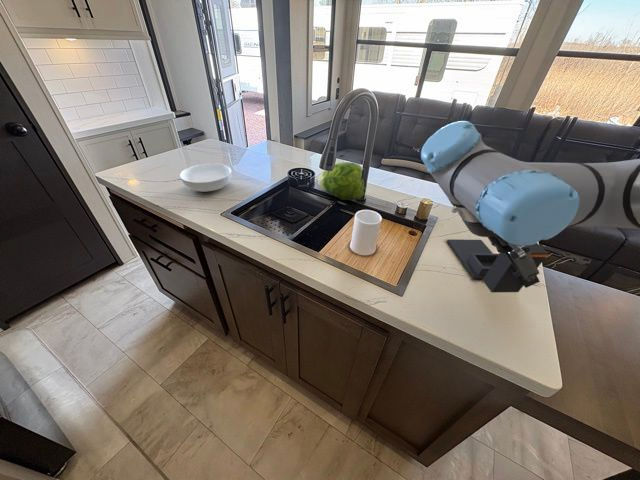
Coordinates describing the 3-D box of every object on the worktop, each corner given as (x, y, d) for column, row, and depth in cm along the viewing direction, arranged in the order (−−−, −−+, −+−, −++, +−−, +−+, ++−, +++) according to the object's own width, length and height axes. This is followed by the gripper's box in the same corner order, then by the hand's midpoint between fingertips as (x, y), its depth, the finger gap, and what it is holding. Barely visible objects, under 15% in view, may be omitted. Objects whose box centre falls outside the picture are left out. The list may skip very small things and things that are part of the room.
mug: (354, 231, 91) (359, 202, 83) (378, 237, 89) (385, 207, 81) (347, 252, 82) (351, 221, 74) (373, 258, 80) (380, 227, 72)
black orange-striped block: (518, 292, 54) (549, 253, 47) (491, 292, 54) (518, 253, 47) (508, 280, 57) (535, 241, 50) (482, 280, 56) (506, 241, 50)
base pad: (512, 280, 75) (519, 270, 72) (473, 279, 74) (478, 270, 72) (479, 241, 89) (484, 232, 86) (446, 241, 88) (450, 232, 86)
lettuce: (332, 188, 123) (323, 159, 114) (374, 185, 112) (367, 152, 103) (318, 207, 113) (307, 177, 104) (363, 206, 102) (354, 172, 93)
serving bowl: (237, 176, 122) (235, 163, 118) (228, 198, 106) (225, 182, 102) (193, 176, 121) (189, 162, 117) (176, 197, 104) (171, 182, 100)
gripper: (442, 196, 50) (485, 258, 62) (489, 250, 37) (533, 317, 49) (479, 171, 47) (517, 241, 59) (544, 221, 34) (577, 299, 46)
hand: (524, 275), depth 54 cm, fingers closed on black orange-striped block, 3 cm apart
